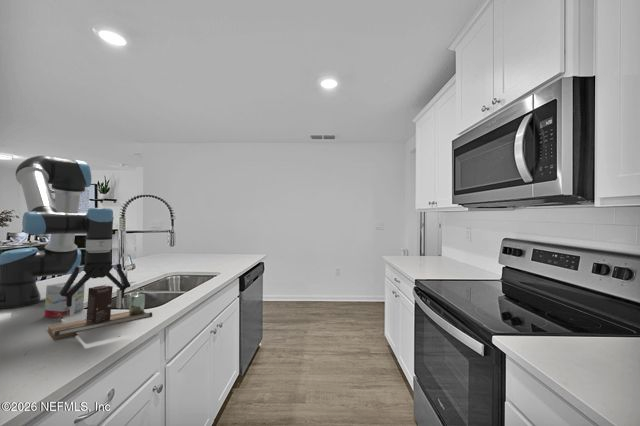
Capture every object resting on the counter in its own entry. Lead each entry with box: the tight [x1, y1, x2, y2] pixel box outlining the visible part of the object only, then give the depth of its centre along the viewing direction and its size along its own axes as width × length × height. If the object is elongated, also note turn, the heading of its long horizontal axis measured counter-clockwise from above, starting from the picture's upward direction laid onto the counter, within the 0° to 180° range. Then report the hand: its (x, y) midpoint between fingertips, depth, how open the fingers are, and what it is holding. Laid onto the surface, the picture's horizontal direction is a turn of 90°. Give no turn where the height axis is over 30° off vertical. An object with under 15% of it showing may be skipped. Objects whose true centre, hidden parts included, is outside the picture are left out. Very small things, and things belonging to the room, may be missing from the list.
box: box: [85, 284, 113, 324], centre depth 109 cm, size 6×4×12 cm
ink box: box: [44, 281, 86, 319], centre depth 118 cm, size 9×9×12 cm
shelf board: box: [47, 311, 153, 341], centre depth 108 cm, size 12×28×2 cm, turn 139°
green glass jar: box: [128, 293, 146, 316], centre depth 118 cm, size 5×5×7 cm
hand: (96, 311), depth 108 cm, fingers open, 13 cm apart
